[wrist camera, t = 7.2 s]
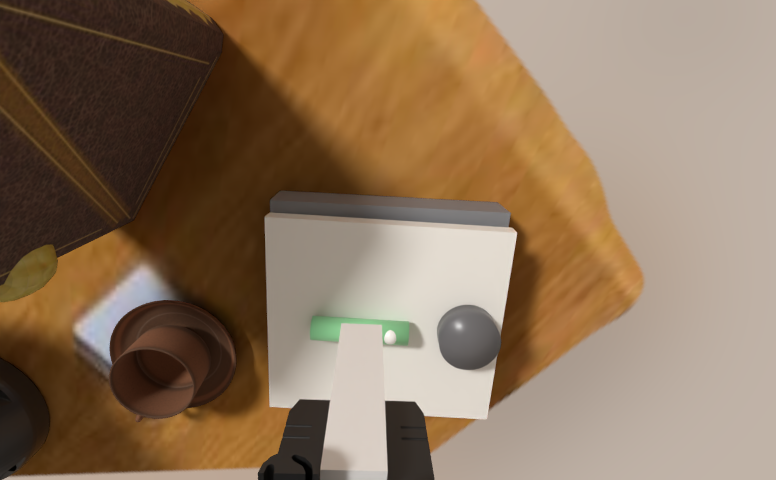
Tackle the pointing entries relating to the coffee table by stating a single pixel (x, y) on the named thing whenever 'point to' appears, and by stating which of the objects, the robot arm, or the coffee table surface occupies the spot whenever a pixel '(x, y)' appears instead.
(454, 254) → the level plate
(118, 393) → the cup and saucer
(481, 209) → the level base
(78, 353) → the coffee table surface
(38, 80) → the book
